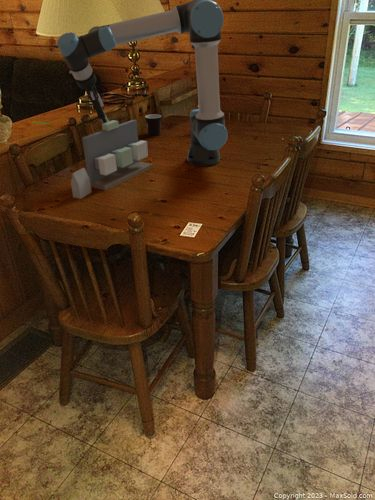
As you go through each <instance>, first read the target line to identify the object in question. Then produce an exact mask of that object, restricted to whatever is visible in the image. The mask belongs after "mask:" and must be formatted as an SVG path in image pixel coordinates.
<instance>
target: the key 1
mask: <svg viewBox="0 0 375 500" xmlns="http://www.w3.org/2000/svg"><path fill="white" fill-rule="evenodd" d="M93 159H94V166H95V169H99V170H100V174H102V175H108V174H110V173H112V172H114V171H117V166H116V157H115V155H114V154H107V155H105V156H101V155H99V156H97V157H94V158H93Z"/></svg>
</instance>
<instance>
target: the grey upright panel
mask: <svg viewBox="0 0 375 500" xmlns="http://www.w3.org/2000/svg"><path fill="white" fill-rule="evenodd" d="M108 121H109V122H106V123H103V124H102V123H101V128H102V130H99V131H96V132H95V133H91V134H88V135H86V136H83V137H81V140H82V147H83V154H84V160H85V166H86V168H85V169H86V173H87V174H88V176H89V178H90V185H91V188H95V189H99V190H101V191H107V190H110V189H112V188H113V187H116V186H118V185H120V184H121V183H124V182H126V181H128V180H131V179H132V178H134V177H136V176H138V175H140V174H142V173H144V172H146V171H149V170H150V169H152V168H153V164H152V163H148V162H143V161H141V160H134V159H133V163H132V164H130V165H128V166H125V167H123V168H122V167H118V166H117V162H116V166H117V171H114V172H112V173H110V174H108V175H102V174H100V170H99V169H95V166H94V159H93V158H94V157H97V156H99V155H101V156H105V155H107V154H111V151H112V150H114V149H117V148H118V149H122V148H124V147H127V144H129V143H131V142H135V143H136V142H139V132H138V122H137V119H131V120H128V121H125V122H122V123H119V120H114V119H113V120H108ZM132 156H133V155H132Z"/></svg>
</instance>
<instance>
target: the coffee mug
mask: <svg viewBox="0 0 375 500" xmlns="http://www.w3.org/2000/svg"><path fill="white" fill-rule="evenodd" d="M144 117H145V123H146V129H147V134H148V135H147V136H148V137H151V136H156V137H159V135H160V136H161V129H162V115H161V114H156V113H154V114H147V115H145V116H144Z"/></svg>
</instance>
